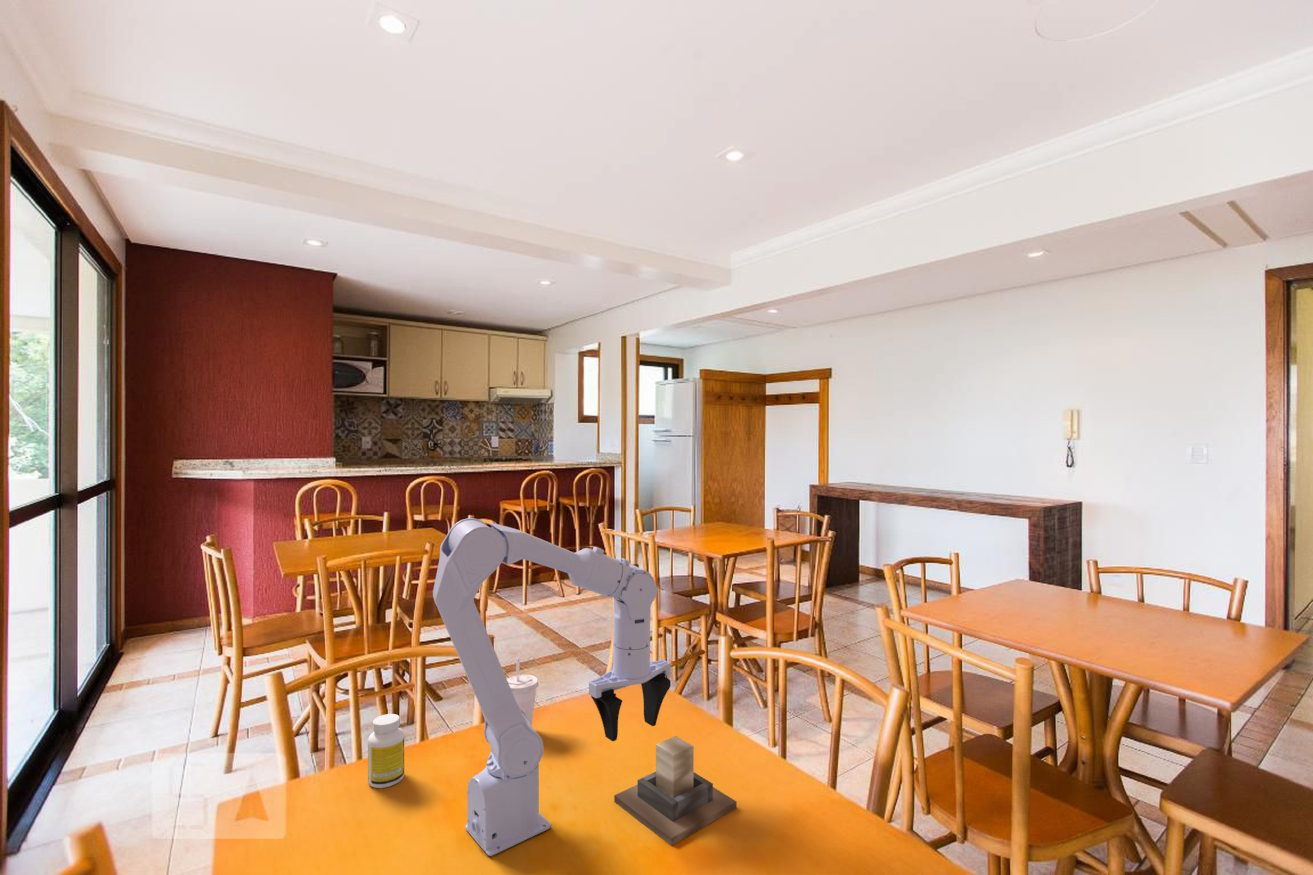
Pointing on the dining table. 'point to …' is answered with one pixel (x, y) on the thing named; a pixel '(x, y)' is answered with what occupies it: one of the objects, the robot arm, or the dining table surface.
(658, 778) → the square peg
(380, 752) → the supplement bottle
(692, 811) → the socket block
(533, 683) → the smoothie
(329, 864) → the dining table surface
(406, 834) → the dining table surface
